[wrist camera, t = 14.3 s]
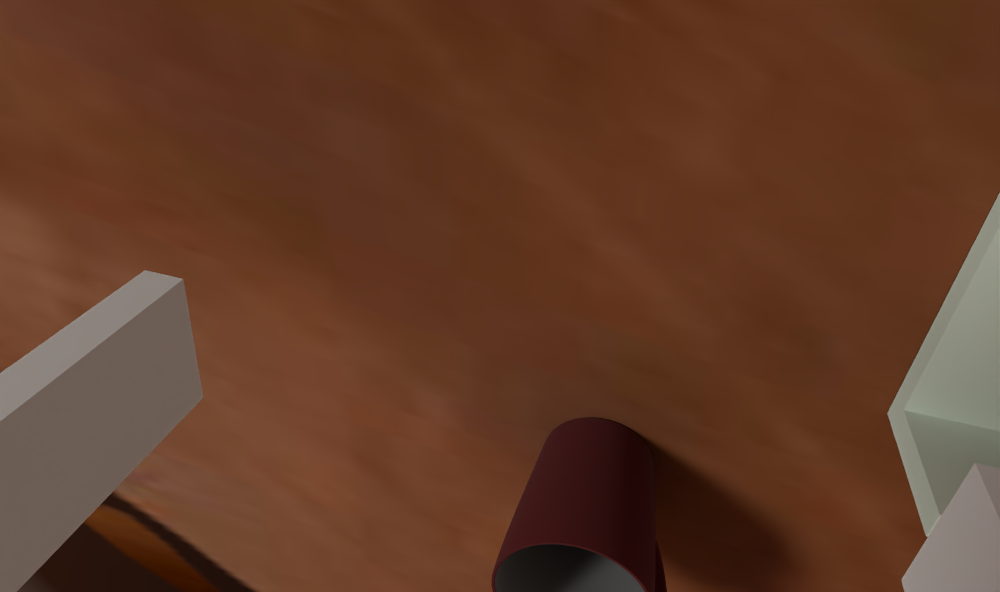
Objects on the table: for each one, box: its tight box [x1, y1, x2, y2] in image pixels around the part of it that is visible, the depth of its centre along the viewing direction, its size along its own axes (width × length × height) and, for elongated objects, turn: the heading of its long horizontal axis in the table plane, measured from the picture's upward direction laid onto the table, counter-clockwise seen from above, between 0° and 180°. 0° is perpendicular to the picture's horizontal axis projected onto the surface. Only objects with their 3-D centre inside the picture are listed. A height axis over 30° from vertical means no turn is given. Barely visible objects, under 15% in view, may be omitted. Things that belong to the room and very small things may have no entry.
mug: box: [492, 418, 667, 592], centre depth 44 cm, size 12×9×11 cm
